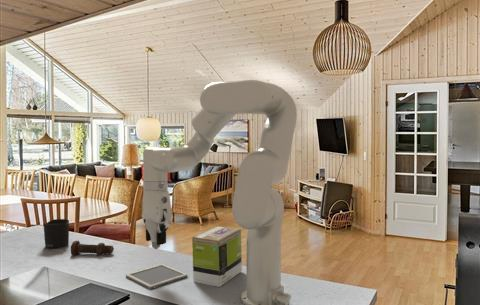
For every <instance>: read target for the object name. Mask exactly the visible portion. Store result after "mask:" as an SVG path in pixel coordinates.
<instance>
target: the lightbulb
mask: <svg viewBox="0 0 480 305" xmlns="http://www.w3.org/2000/svg"><path fill="white" fill-rule="evenodd" d="M161 222H163V220H161ZM162 225H163V224H160V226H162ZM145 229H147V230H148V232H149V234H150V237H151V240H150V242H151V248H153V249H155V250H157V249H159V248H160V247H161V245H157V232H158V229H157V223H155V222H153V221H152V220H151V219H148V220H147V222H146V228H145Z"/></svg>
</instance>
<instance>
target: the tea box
mask: <svg viewBox="0 0 480 305" xmlns="http://www.w3.org/2000/svg"><path fill="white" fill-rule="evenodd" d="M191 239H192V277H193V278H192V280H193V282H194V283H198V284H201V283H202V284H203V285H208V286H210V287H211V286H213V287H218V288H220V287H222V286H223V285H224V284H226V283H227V282H228V281H230V280H231V279H233V278H234V277H235V276H237V275H238V274H240V273H241V272H243V262H242V230H241V228H233V227H225V226H224V227H223V226H217V225H216V226H214V227H212V228H209V229H207V230H206V231H203V232H200V233H198V234H196V235H194V236H192V238H191ZM202 284H201V285H202Z"/></svg>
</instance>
